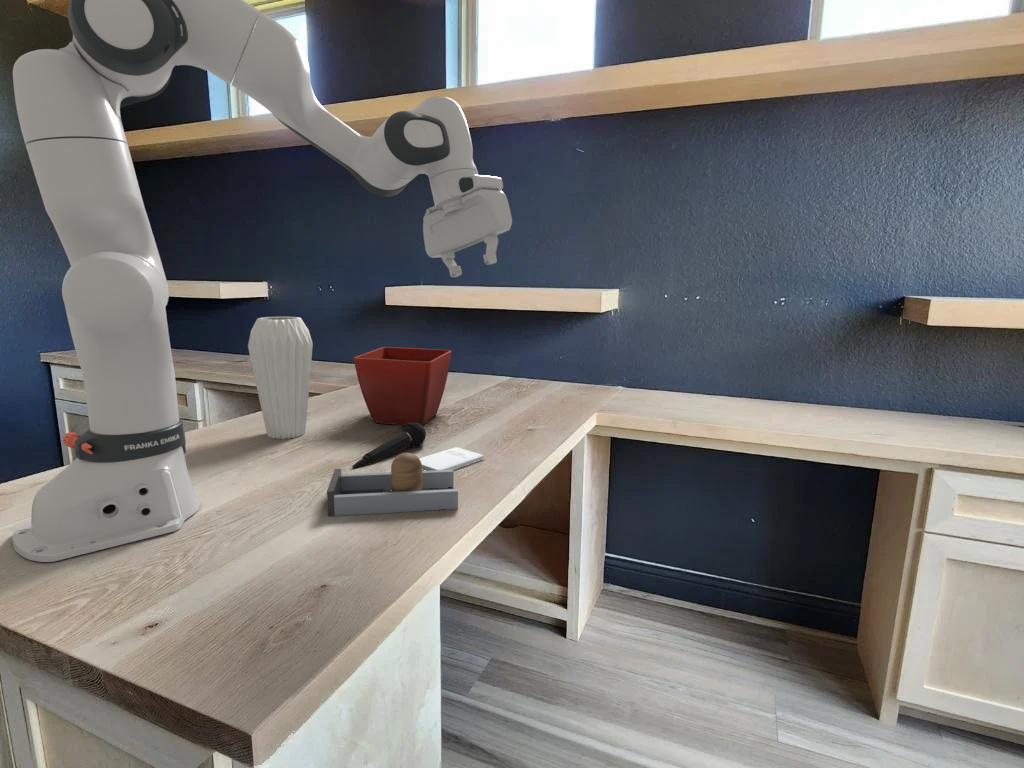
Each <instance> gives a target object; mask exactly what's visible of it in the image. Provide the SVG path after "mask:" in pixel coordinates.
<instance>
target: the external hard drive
mask: <svg viewBox="0 0 1024 768" xmlns="http://www.w3.org/2000/svg"><path fill="white" fill-rule="evenodd" d="M484 457H485V455H483V454H482V453H478V452H474V451H471V450H468V449H465V448H461V447H458V446H455V447H452V448H449V449H445V450H442V451H440V452H435V453H432V454H428V455H427V456H423V457H420V458H419V457H418V458H419V459H420V461H421V464H422V469H423V470H426V471H431V470H454V469H457V468H459V467H462V466H465V465H467V464H470V463H473V462H475V461H478V460H481V459H483V458H484ZM484 459H485V458H484ZM473 464H474V463H473ZM465 467H466V466H465ZM462 468H463V467H462ZM423 470H422V471H423ZM457 470H458V469H457ZM454 471H455V470H454Z"/></svg>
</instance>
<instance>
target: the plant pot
mask: <svg viewBox="0 0 1024 768" xmlns="http://www.w3.org/2000/svg"><path fill="white" fill-rule="evenodd" d="M451 358H452V350H450V349H449V350H448V349H437V348H435V349H433V348H432V349H430V348H416V347H415V348H414V347H413V348H411V347H396V346H395V347H393V346H383V347H379V348H377V349H374V350H371V351H368V352H365V353H362V354H360V355H357V356H355V357H353V362H354V367H355V368H354V369H355V371H356V376H357V380H358V385H359V388H360V390H361V394H362V397H363V399H364V402H365V405H366V407H367V410H368V413H369V415H370V417H371V420H372V421H373V423H375V424H385V425H387V424H388V425H398V426H399V425H400V426H404V425H406V424H407V423H409V422H412V423H419V424H421V425H422V426H424V425H425V424H426V423H428V422H429V421H430V420H431V419H432V418H434V416H436V415H437V413H438V411H439V408H440V405H441V403H442V398H443V395H444V392H445V388H446V384H447V380H448V375H449V370H450V364H451Z"/></svg>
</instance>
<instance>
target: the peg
mask: <svg viewBox="0 0 1024 768" xmlns="http://www.w3.org/2000/svg"><path fill="white" fill-rule="evenodd" d="M390 468H391V469H390V472H391V484H392V491H391V492H404V491H423V489H422V471H423V470H422V464H421V461H420V459H419V457H418V455H416V454H414V453H411V452H402V453H400V454H398V455H397V456H395V458H394V459H393V460H392V462H391V467H390Z"/></svg>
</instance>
